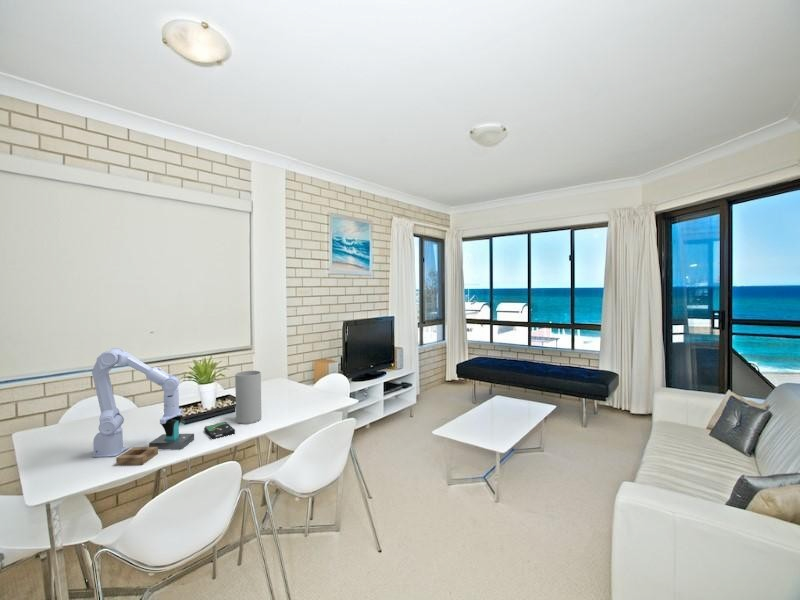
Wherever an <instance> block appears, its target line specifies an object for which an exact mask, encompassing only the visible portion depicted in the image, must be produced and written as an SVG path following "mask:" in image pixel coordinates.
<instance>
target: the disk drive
mask: <svg viewBox="0 0 800 600" xmlns="http://www.w3.org/2000/svg"><path fill="white" fill-rule="evenodd" d="M203 429H204V430H203V431H204V432H205V434H206V435H209V436H210V437H211V438H212V439H213V440H216V438H217V439H221V438H225V437H229V436H232V434H233V435H236V430H235V428H234V427H233V426H231V424H229V423H228V422H227V421H222V422H218V423H214V424H210V425H205V426H204V428H203ZM228 435H229V436H228ZM209 436H208V437H209ZM224 436H225V437H224ZM210 437H209V438H210ZM220 437H221V438H220ZM211 438H210V439H211ZM212 439H211V440H212Z"/></svg>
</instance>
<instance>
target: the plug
mask: <svg viewBox="0 0 800 600" xmlns="http://www.w3.org/2000/svg"><path fill="white" fill-rule="evenodd" d="M171 420H172V421H175V424H174V427H173V435H172V436H166V441H167V440H176V439H177V438H179V434H180V430H179V429H180V428H179V427H180V424H179V420H178V421H176V419H171Z"/></svg>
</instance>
